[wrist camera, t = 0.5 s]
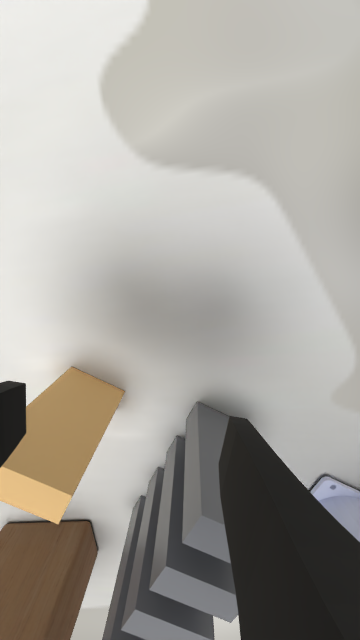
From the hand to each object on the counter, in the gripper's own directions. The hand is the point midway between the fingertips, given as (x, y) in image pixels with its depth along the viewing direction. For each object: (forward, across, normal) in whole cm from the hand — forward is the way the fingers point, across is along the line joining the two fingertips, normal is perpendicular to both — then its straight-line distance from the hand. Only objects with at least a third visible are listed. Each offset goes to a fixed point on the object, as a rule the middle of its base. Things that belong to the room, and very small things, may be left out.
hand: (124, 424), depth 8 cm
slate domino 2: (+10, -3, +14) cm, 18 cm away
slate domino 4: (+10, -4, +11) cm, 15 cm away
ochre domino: (+10, +5, +6) cm, 13 cm away
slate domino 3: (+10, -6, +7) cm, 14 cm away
